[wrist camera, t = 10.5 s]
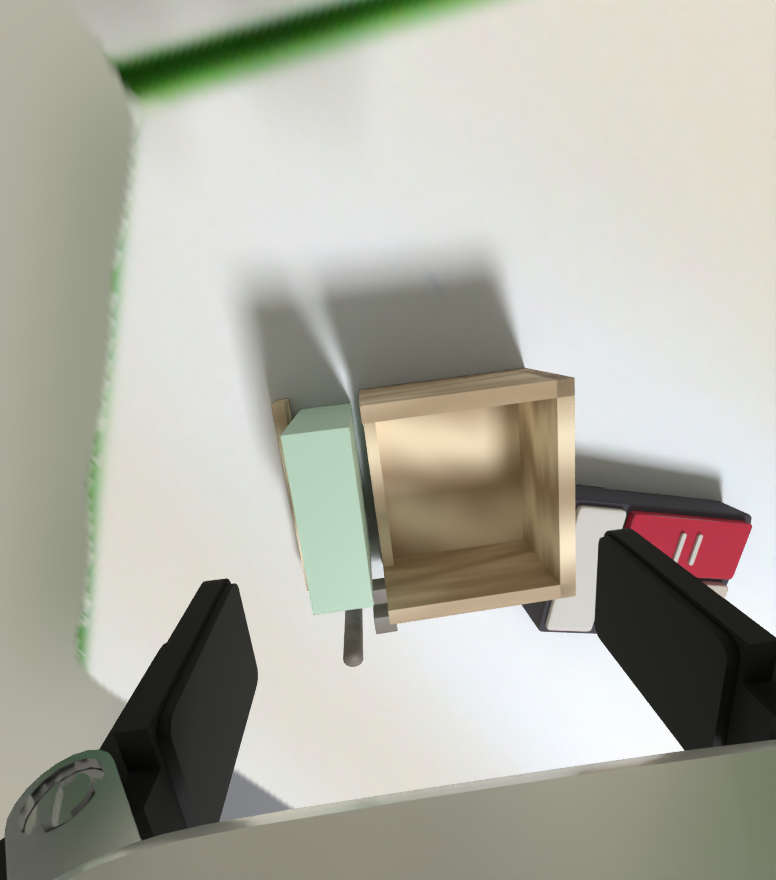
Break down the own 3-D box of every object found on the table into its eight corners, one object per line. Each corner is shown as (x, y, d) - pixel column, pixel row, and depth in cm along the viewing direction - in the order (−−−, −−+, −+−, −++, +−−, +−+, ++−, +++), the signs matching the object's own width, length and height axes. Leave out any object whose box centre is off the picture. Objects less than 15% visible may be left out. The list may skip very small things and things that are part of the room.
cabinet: (276, 400, 29) (247, 424, 21) (525, 367, 30) (584, 379, 22) (314, 595, 33) (301, 674, 25) (532, 562, 34) (584, 630, 26)
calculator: (715, 645, 33) (541, 639, 31) (673, 610, 37) (517, 602, 35) (764, 519, 31) (579, 502, 28) (713, 497, 35) (548, 480, 32)
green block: (300, 409, 29) (280, 435, 22) (351, 403, 30) (348, 427, 22) (324, 553, 32) (314, 622, 25) (370, 547, 33) (374, 613, 25)
